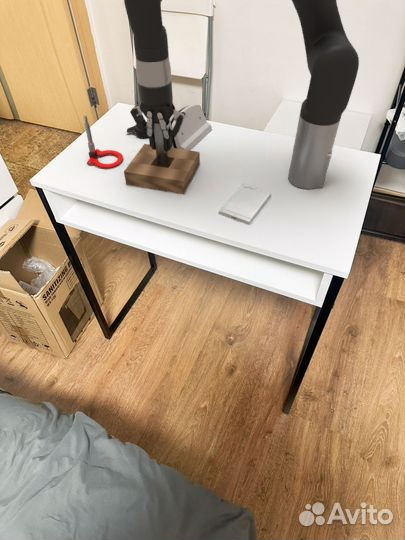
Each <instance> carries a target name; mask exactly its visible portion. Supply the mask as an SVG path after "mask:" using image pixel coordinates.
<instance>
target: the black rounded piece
mask: <svg viewBox="0 0 405 540" xmlns="http://www.w3.org/2000/svg"><path fill="white" fill-rule="evenodd" d="M126 133H134V134H135V137H136V138H137V139H139V140H149V136H148V135H147V134H146V133H141V131H140V129H139V128H138V126H137V124H136V123H135V124H134V125H133V126H131V127H128V128H127V129H126Z"/></svg>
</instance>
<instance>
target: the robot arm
mask: <svg viewBox="0 0 405 540" xmlns="http://www.w3.org/2000/svg"><path fill="white" fill-rule="evenodd" d="M162 1H163V0H123V3H124V7H125V12H126V15H127V19H128V22H129V23H128V24H129V26H130V29H131V33H132V35H133V47H134V54H135V55H134V56H135V70H136V73H135V74H136V78H137V79H136V80H137V87H138V94H139V95H138V96H139V100H140V104H139V105H135V106H133V107H132V108H131V109H130V114H131V117H132V118H133V120H134V122H135V125H136V124H137V126H138V128H139V129H140V131H141V133H146V134H147V135H148V136H149V139H148V141H149V144H150V147H152V149H153V150H155V140H154V131H153V123H159V124H160V125H161V129H162V130H163V133H164V137H165V138H164V144H165V151H166V152H169V150H170V149H171V148H172V137H176V135H177V134H178V132H179V130H180V128H181V125H182V123H183V120H184V118H185V116H186V114H185V112H181V113H180V112H179V111H178V110H177V109H176V107H175V105H174V99H173V98H174V97H173V84H172V83H173V82H172V70H171V69H172V68H171V63H170V57H169V56H170V54H169V42H168V33H167V29H166V26H164V25H163V17H162ZM291 2H292V4H293V6H294V9H295V10H296V13H297V16H298V19H299V23H300V26H301V31H302V36H303V37H302V39H303V43H304V49H305V55H306V56H305V57H306V64H307V68H308V69H307V70H308V71H309V74H310V80H309V85H308V88H307V89H308V91H307V95H306V98H305V99H304V100H303V102H301V106H300V112H299V117H298V122H297V126H296V127H297V128H296V133H295V139H294V144H293V147H292V154H291V160H290V165H289V169H288V175H287V179H288V181H289V182H290V183H291V185H293V186H294V187H296V188H300V189H303V190H304V189H305V190H314V189H319V188H320V189H323V187H324V184H325V181H326V180H325V179H326V176H327V173H328V171H329V170H328V169H329V166H330V162H331V158H332V154H333V153H332V152H333V148H334V144H335V141H336V136H337V133H338V129H339V126H340V122H341V119H342V115H343V113H344V112H345V110H346V109H347V107H348V105H349V102H350V99H351V95H352V93H353V89H354V86H355V83H356V80H357V76H358V72H359V66H360V58H359V54H358V52H357V51H356V49H355V48H354V46H353V44H352V43H351V41H350V40H349V38H348V35H347V33H346V30H345V27H344V25H343V23H342V19H341V14H340V11H339V7H338V3H337V0H291ZM172 115H174V120H175V122H176V123H175V126H174V128H173V130H172V129H171V121H170V118H171V116H172ZM145 118H146V119H145Z"/></svg>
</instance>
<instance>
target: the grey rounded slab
mask: <svg viewBox="0 0 405 540" xmlns="http://www.w3.org/2000/svg"><path fill="white" fill-rule="evenodd" d="M177 111H179V112H180V113H181V112H185V114H186V116H185V118H184V120H183V123H182V125H181V128H180V130H179V132H178V134H177V135H176V137H172V148H177V149H183V150H190V151H193V149H195V147H196V146H197V145H198V144H199V143H200V142H201V141H203V140H204V139H205V138H206V137H207V136H208V134H210V133H211V132H212V131H213V128H212V125H211V123H209V122H208V121H207V119H206V116H205V114H204V111H203V109H202V106H201V105H200V104H191V105H186V106H184V107H181V108H179V109H178V110H177ZM170 121H171V129H172V130H173V128H174V126H175V123H176V122H175V120H174V115H172V116H171V118H170Z"/></svg>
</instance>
